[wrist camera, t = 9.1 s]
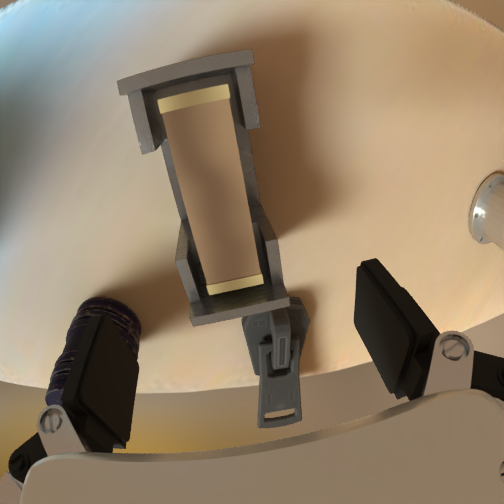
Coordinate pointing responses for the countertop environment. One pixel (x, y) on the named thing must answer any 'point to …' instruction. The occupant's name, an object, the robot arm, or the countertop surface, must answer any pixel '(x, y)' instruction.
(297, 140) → the countertop surface
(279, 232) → the countertop surface
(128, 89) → the grey cradle stand
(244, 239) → the brown rectangular block
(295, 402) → the zipper pull
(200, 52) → the countertop surface
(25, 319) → the countertop surface
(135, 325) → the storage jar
